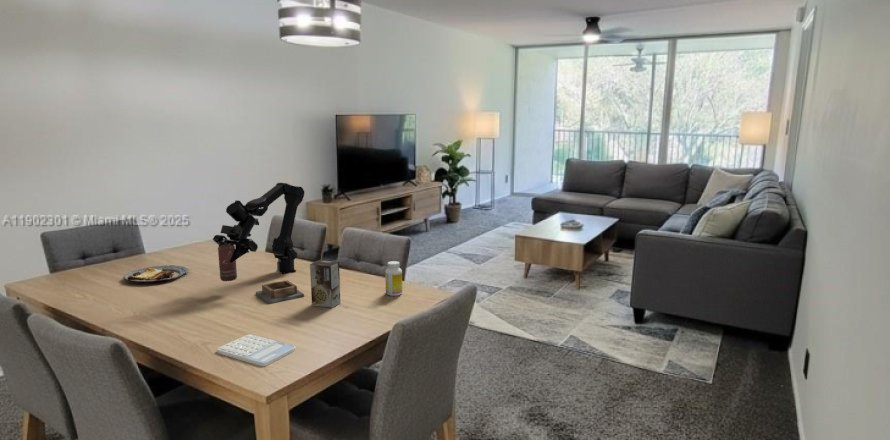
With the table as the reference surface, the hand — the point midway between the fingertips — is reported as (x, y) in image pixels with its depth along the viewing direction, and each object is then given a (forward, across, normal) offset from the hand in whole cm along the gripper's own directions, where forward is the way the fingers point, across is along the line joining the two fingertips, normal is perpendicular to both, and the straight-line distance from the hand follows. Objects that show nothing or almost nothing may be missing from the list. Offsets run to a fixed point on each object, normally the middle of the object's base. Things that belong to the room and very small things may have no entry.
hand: (225, 261), depth 210 cm
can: (+5, 0, +6) cm, 8 cm away
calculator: (+35, +48, -16) cm, 61 cm away
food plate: (+7, -44, +13) cm, 47 cm away
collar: (+4, +20, +15) cm, 25 cm away
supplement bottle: (-10, +59, +30) cm, 67 cm away
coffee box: (+5, +42, +14) cm, 45 cm away
